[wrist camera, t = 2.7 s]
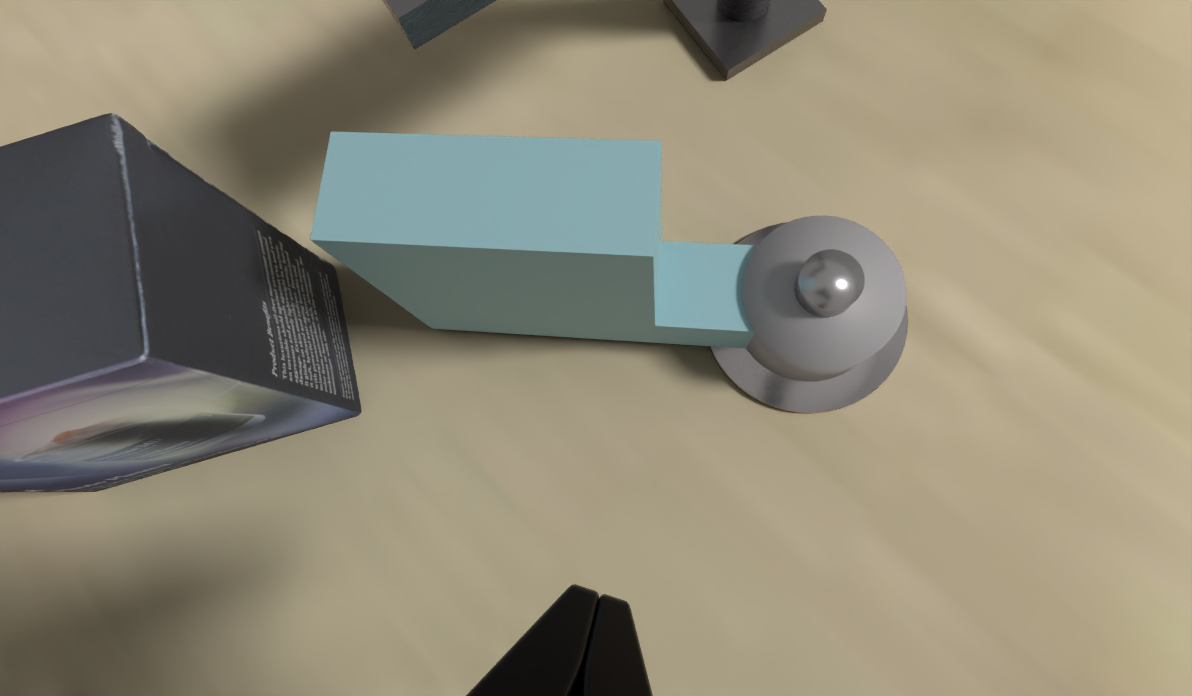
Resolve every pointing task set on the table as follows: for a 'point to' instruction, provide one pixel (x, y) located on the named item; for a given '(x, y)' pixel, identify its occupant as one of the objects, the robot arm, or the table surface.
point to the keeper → (701, 3)
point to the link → (584, 250)
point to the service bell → (825, 293)
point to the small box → (150, 317)
